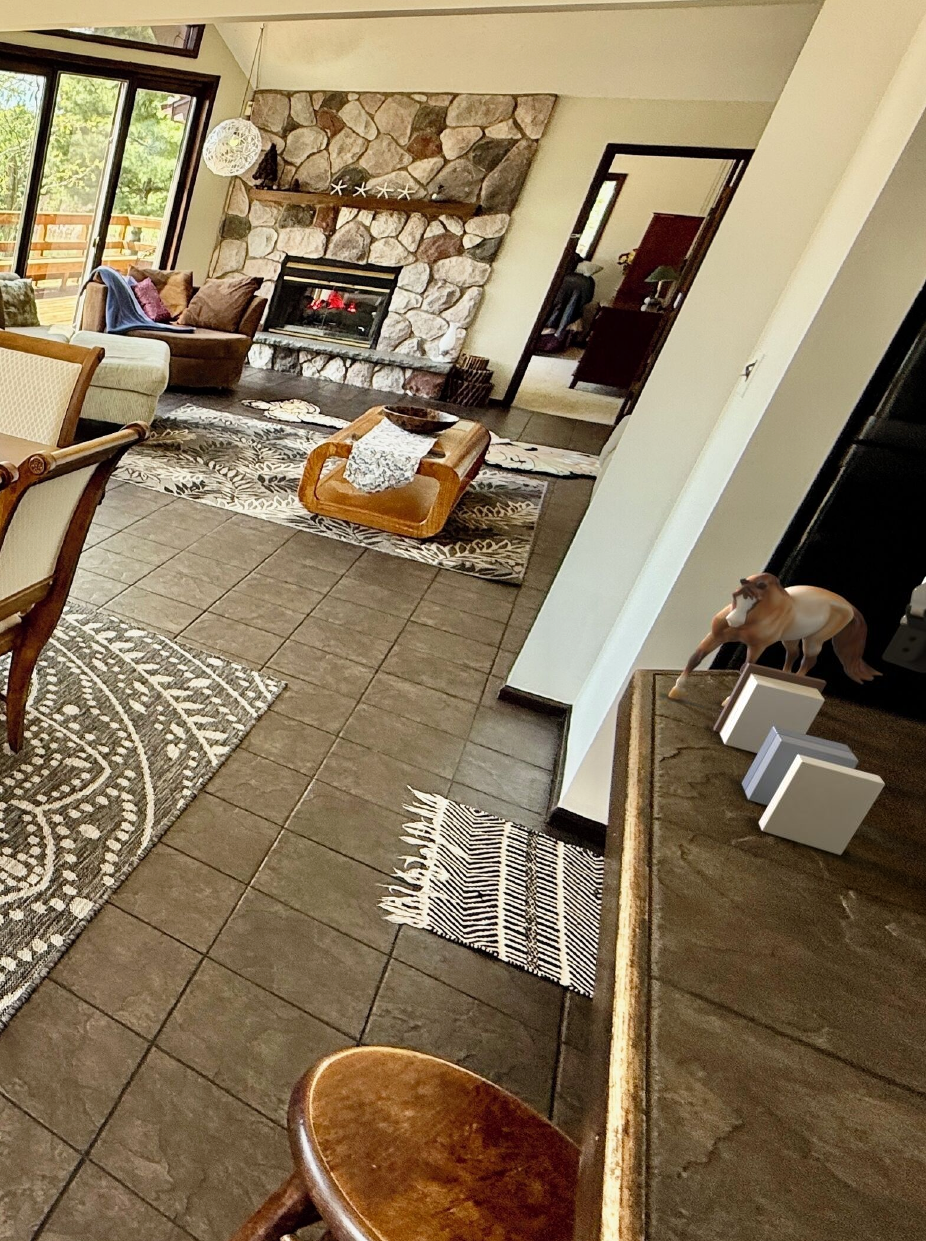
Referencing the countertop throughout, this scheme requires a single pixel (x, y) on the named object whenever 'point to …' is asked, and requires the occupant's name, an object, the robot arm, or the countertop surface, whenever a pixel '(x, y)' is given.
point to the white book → (820, 804)
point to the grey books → (789, 760)
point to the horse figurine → (786, 627)
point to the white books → (768, 706)
